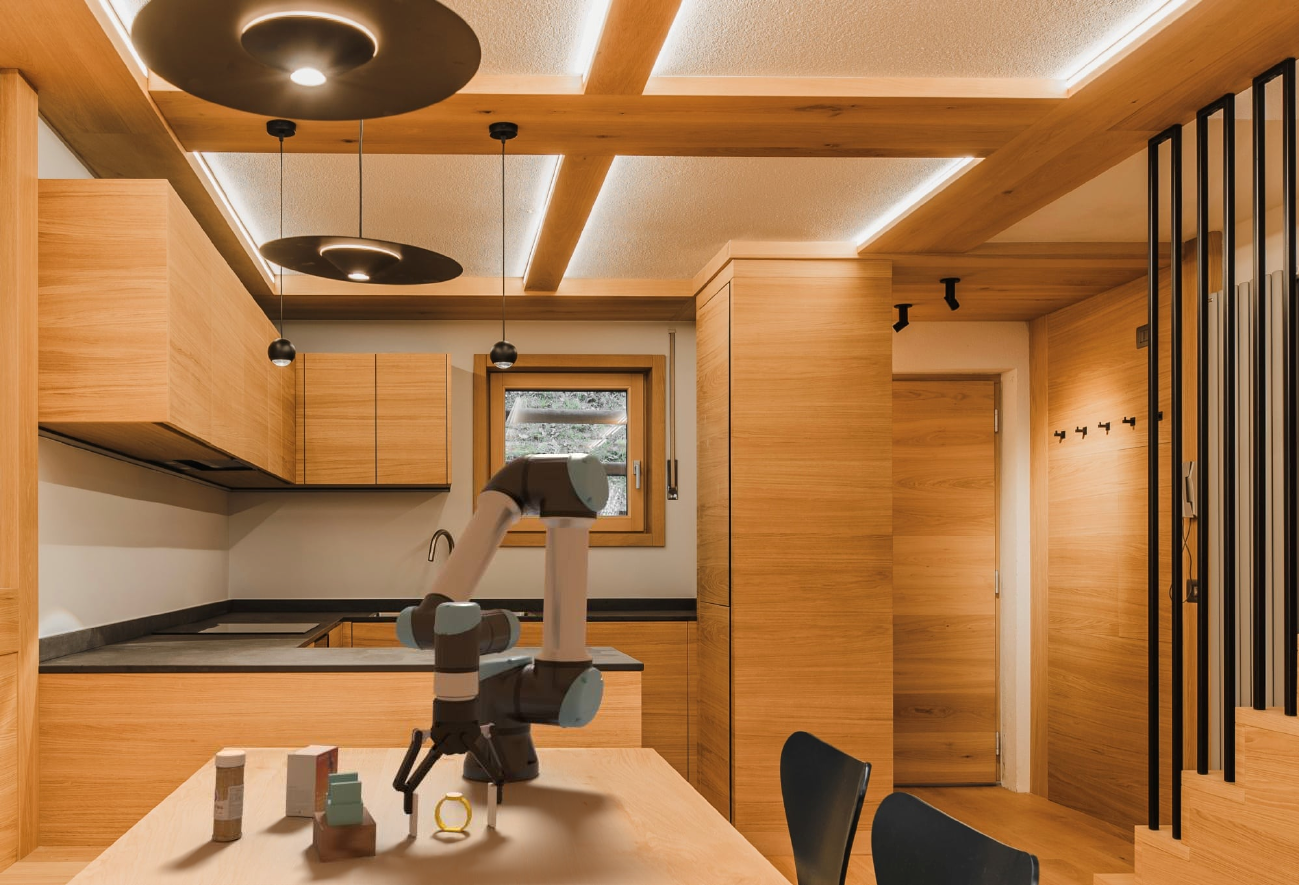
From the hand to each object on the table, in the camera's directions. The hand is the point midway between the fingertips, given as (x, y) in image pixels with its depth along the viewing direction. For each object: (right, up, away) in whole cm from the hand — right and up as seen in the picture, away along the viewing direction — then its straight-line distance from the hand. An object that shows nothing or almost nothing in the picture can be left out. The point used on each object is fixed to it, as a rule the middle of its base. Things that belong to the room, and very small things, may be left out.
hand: (453, 829), depth 167 cm
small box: (-27, -1, +11) cm, 29 cm away
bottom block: (-15, 0, -10) cm, 18 cm away
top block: (-15, +5, -9) cm, 19 cm away
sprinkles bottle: (-35, 0, -5) cm, 35 cm away
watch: (0, 0, 0) cm, 0 cm away
